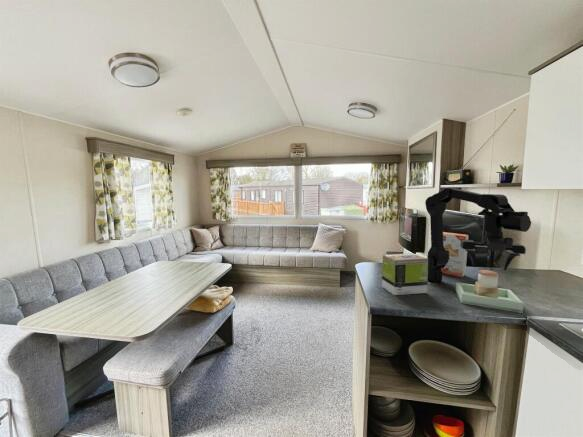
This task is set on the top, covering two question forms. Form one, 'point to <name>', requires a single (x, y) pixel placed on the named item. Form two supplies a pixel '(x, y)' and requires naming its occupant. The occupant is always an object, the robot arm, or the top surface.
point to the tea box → (405, 274)
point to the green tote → (489, 298)
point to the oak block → (486, 291)
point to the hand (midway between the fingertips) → (489, 268)
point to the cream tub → (487, 279)
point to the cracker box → (455, 254)
